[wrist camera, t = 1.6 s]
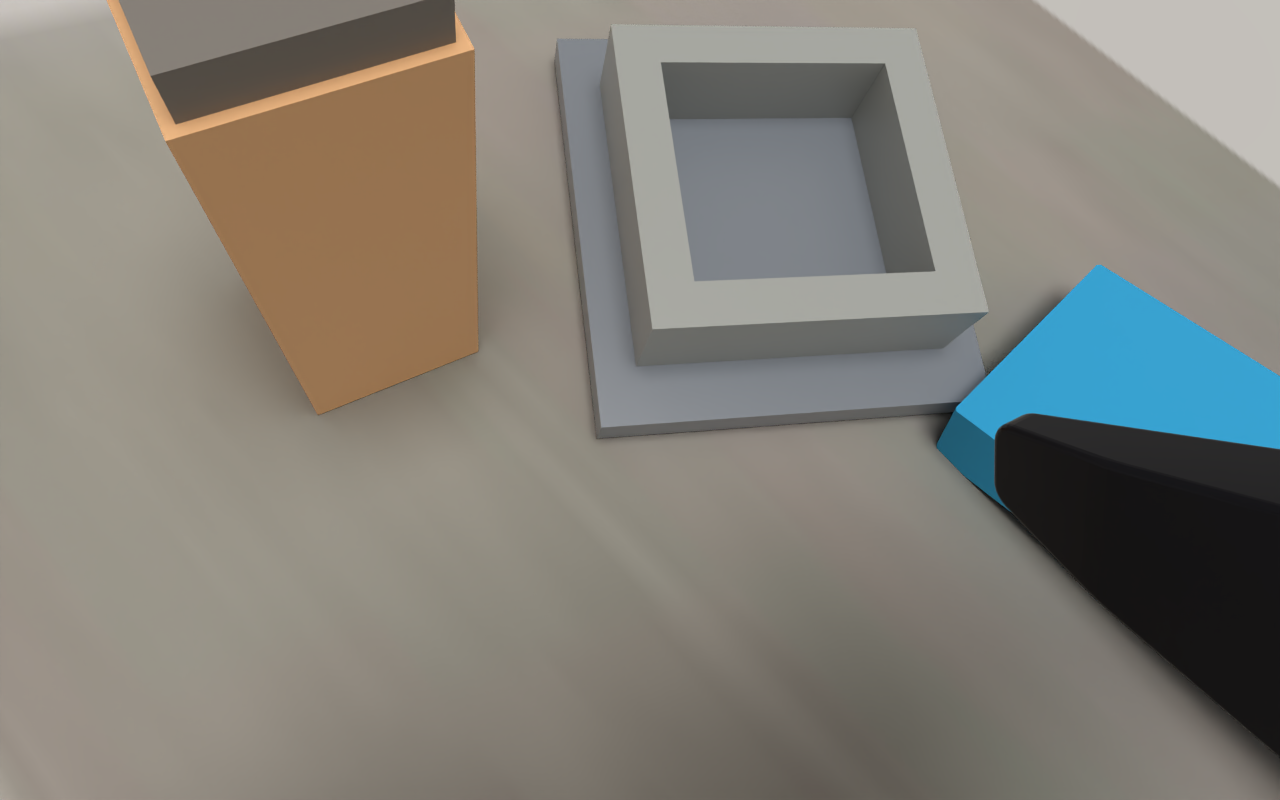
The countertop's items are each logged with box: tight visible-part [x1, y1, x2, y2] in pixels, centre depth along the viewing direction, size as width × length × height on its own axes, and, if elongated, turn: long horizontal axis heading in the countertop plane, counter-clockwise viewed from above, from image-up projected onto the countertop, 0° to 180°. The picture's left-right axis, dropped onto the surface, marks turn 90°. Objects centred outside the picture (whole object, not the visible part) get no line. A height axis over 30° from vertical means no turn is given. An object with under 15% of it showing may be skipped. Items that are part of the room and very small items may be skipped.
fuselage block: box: [107, 0, 478, 415], centre depth 18 cm, size 4×4×13 cm
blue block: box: [937, 265, 1280, 510], centre depth 25 cm, size 7×7×18 cm
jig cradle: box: [555, 24, 989, 438], centre depth 26 cm, size 12×11×4 cm
